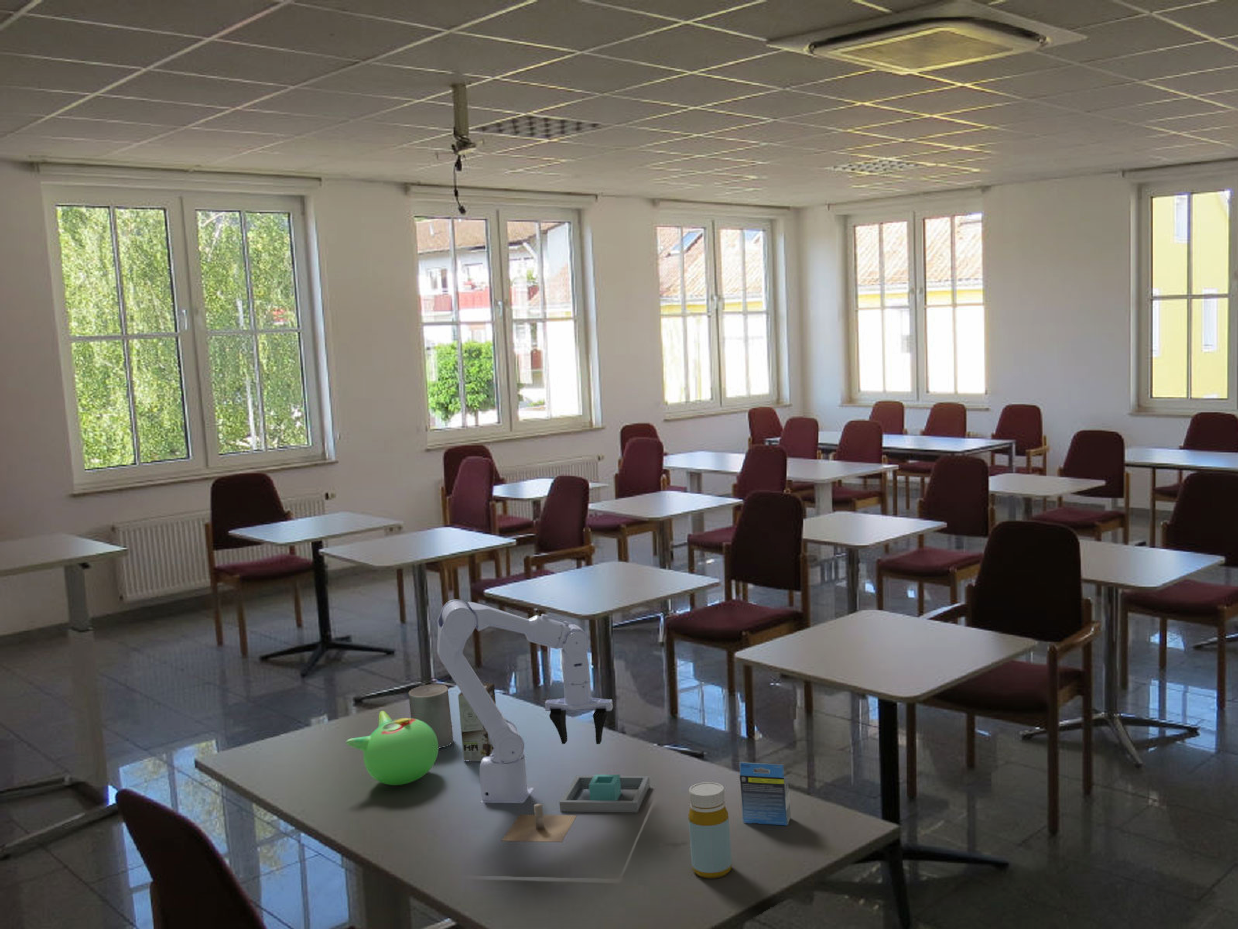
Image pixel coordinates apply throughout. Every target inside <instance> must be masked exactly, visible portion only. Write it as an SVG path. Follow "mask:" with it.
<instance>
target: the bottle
mask: <svg viewBox="0 0 1238 929" xmlns="http://www.w3.org/2000/svg"><path fill="white" fill-rule="evenodd" d="M688 797H689V798H688V799H689V807H690V808H689V811H688V828H689V843H690V844H689V845H690V854H691V855H690V857H691V865H692V866H691V867H692V871H693V872H694V873H695V874H696V875H697V876H699V877H701V878H705V879H718V878H722V877H724V876H726V875H727V874H728V873H729V872H730V871H731V869H732V867H733V866H732V862H733V861H732V860H733V859H732V851H731V850H732V848H731V847H732V846H731V833H730V822H729V820H730V818H729V813H728V810H727V807H726V804H725V802H726V797H725V787H724V786H723V785H722V784H721V783H719V782H712V781H705V782H698V783H695V784H693V785H691V786H690V787H689V789H688Z"/></svg>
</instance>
